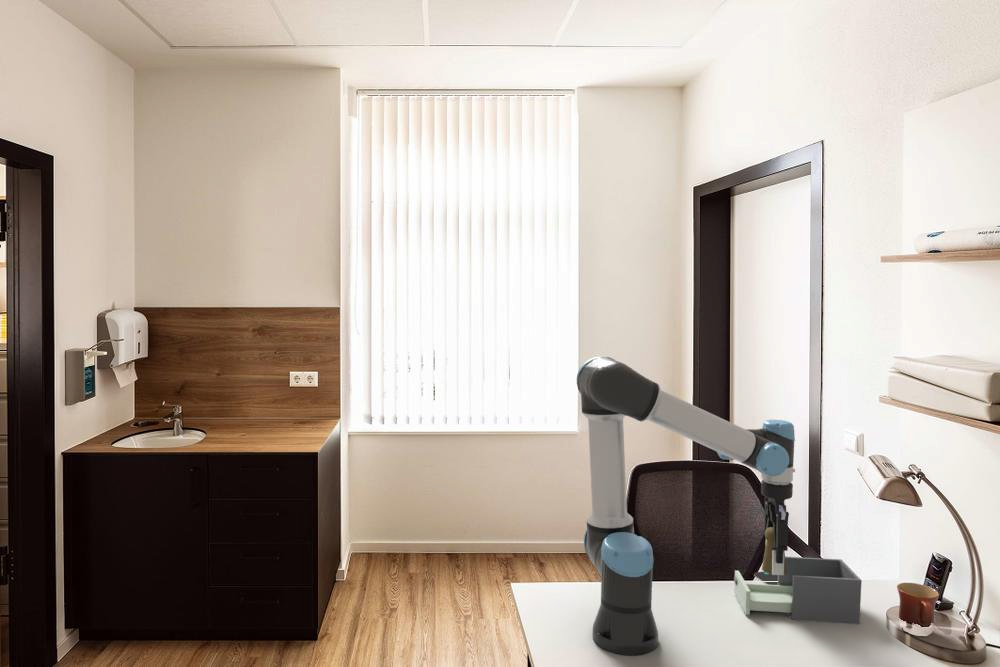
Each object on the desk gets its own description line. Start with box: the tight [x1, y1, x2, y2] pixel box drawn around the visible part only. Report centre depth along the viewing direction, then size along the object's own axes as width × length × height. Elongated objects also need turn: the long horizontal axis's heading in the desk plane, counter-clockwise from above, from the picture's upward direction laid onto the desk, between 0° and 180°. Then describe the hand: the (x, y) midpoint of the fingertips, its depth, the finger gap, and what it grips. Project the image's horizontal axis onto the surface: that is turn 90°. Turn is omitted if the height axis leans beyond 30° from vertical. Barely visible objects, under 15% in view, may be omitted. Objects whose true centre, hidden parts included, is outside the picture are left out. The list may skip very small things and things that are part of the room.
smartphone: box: [753, 571, 778, 585], centre depth 199 cm, size 8×1×15 cm
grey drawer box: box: [778, 556, 862, 625], centre depth 183 cm, size 16×14×11 cm
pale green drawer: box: [733, 570, 792, 616], centre depth 184 cm, size 15×13×6 cm
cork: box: [761, 527, 787, 574], centre depth 183 cm, size 6×6×11 cm
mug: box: [896, 582, 940, 627], centre depth 170 cm, size 12×9×10 cm
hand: (774, 569), depth 184 cm, fingers closed on cork, 6 cm apart
